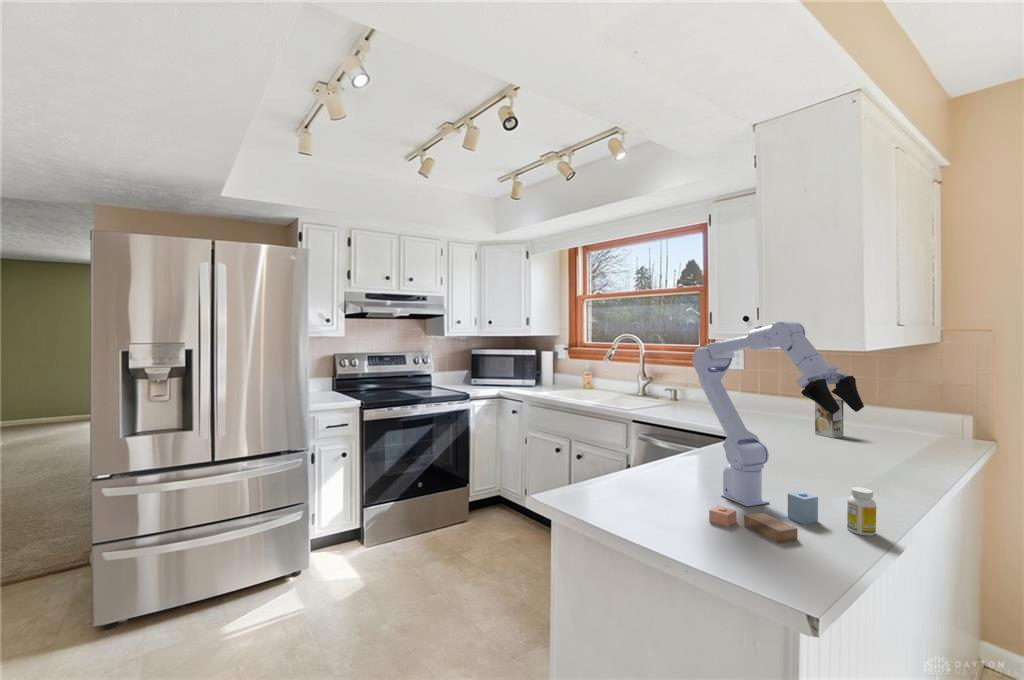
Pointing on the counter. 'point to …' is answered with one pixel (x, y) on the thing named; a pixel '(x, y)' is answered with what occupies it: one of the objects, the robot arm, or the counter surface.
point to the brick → (722, 516)
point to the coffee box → (829, 421)
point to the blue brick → (803, 507)
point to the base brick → (770, 527)
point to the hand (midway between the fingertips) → (848, 410)
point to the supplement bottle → (861, 512)
